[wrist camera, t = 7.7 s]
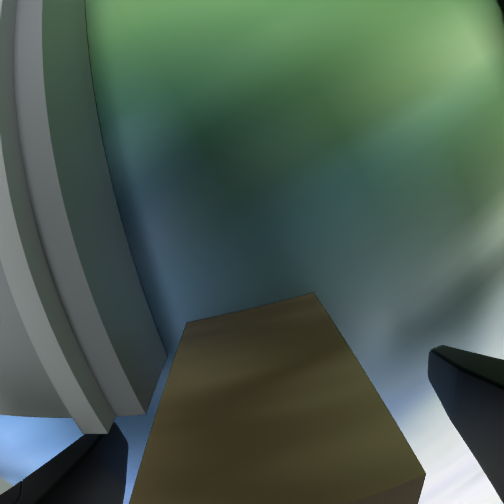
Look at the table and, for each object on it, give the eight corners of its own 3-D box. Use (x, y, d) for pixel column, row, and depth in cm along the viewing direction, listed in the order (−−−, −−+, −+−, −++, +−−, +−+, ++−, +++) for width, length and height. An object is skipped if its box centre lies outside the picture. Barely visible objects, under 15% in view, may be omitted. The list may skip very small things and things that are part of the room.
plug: (314, 292, 10) (426, 473, 3) (331, 392, 10) (397, 559, 4) (186, 322, 10) (123, 524, 3) (222, 416, 11) (215, 592, 4)
